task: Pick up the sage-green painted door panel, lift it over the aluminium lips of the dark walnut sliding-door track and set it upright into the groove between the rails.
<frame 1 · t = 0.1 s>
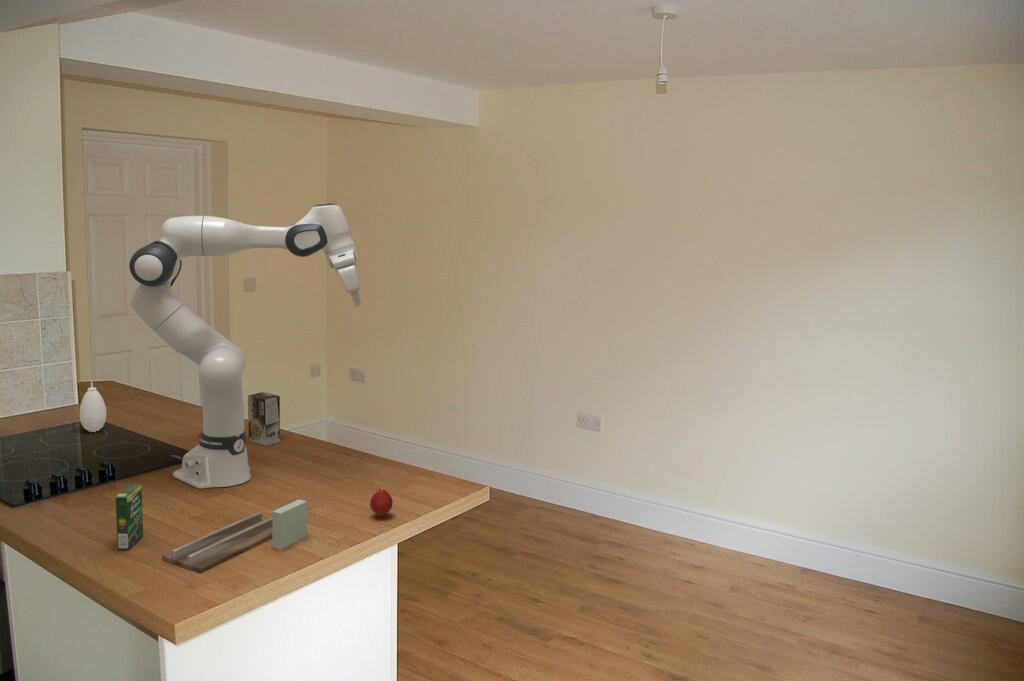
hand: (358, 303, 220), 52 cm above the counter, tool tilted 20°, fingers open, 8 cm apart
door panel: (290, 542, 181), on the counter
sauce bottle: (93, 432, 259), on the counter
coffee box: (264, 442, 256), on the counter
door track: (227, 544, 178), on the counter
onion: (381, 517, 198), on the counter
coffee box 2: (130, 544, 176), on the counter
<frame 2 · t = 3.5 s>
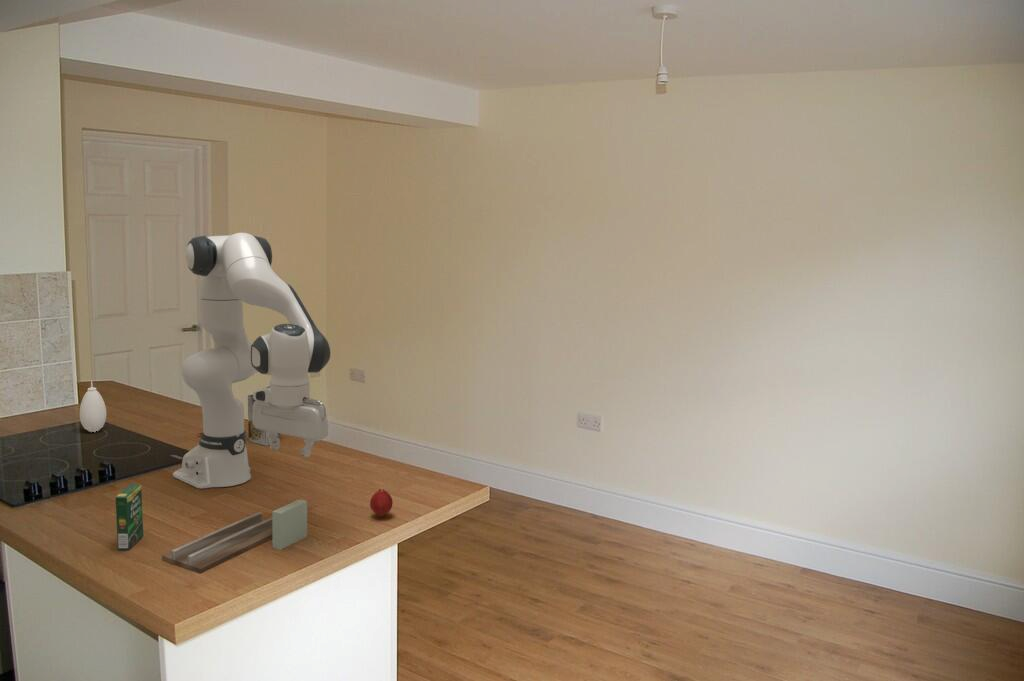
hand: (290, 452, 177), 22 cm above the counter, tool pointing down, fingers open, 8 cm apart
nothing on the counter moved.
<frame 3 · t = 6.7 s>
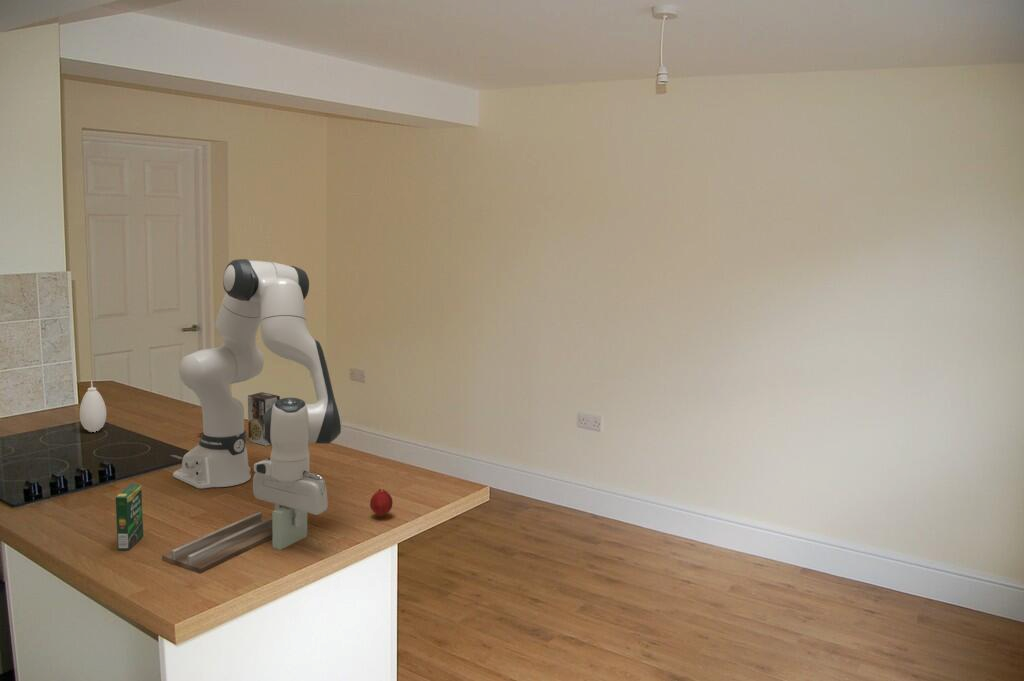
hand: (290, 523, 180), 5 cm above the counter, tool pointing down, fingers closed on door panel, 2 cm apart
door panel: (290, 541, 181), on the counter, touching gripper
everything else where it was.
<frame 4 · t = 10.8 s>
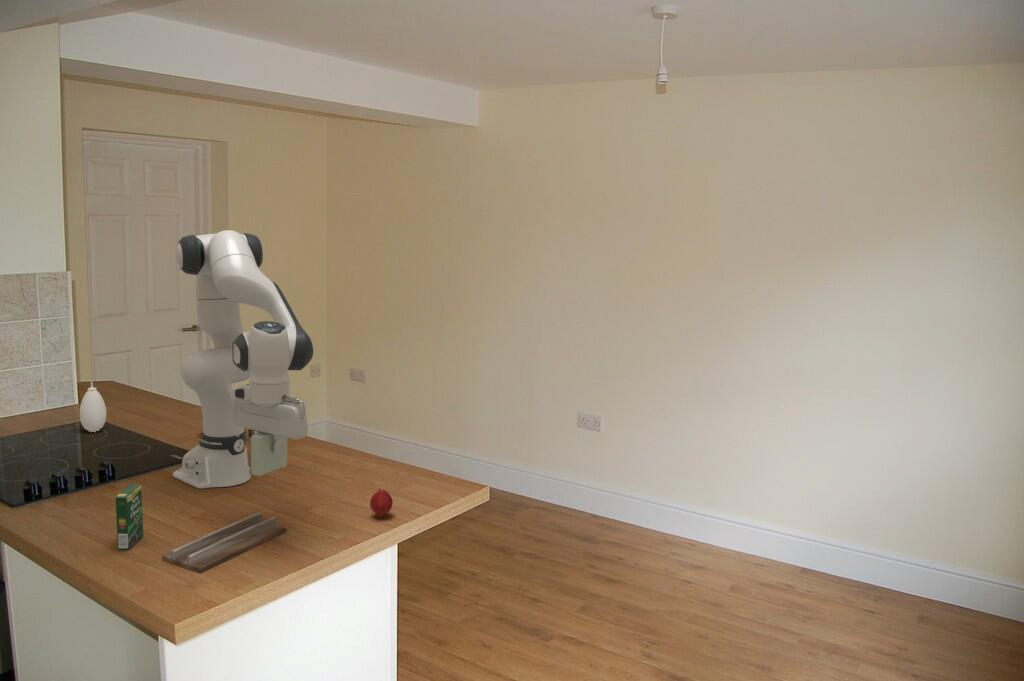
hand: (269, 450, 176), 23 cm above the counter, tool pointing down, fingers closed on door panel, 2 cm apart
door panel: (269, 469, 177), point 18 cm above the counter, touching gripper
everything else where it was.
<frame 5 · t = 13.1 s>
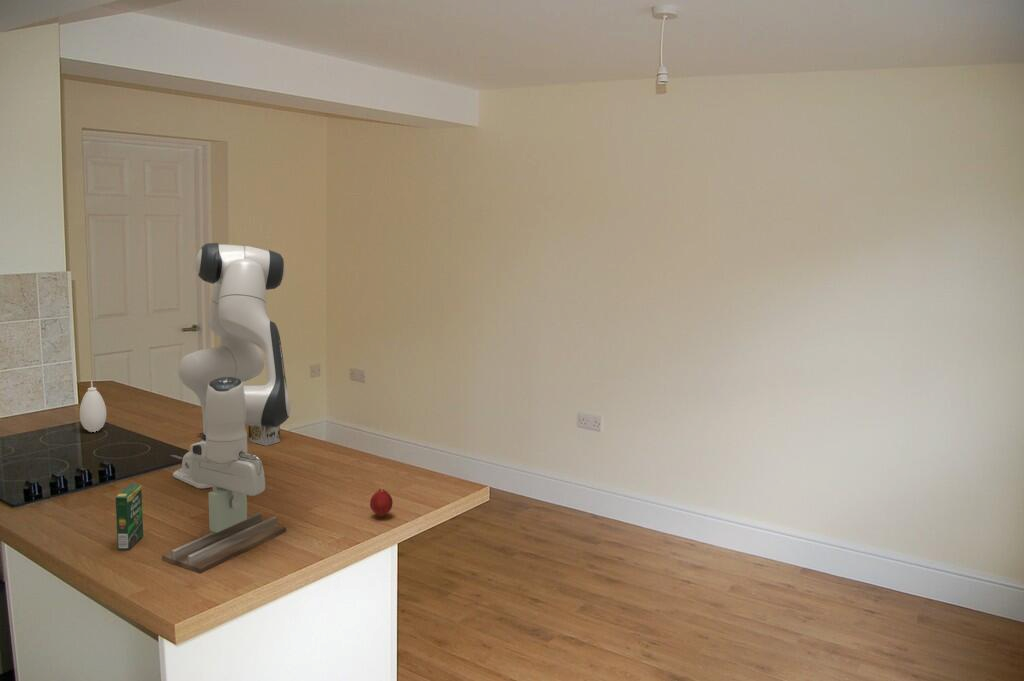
hand: (228, 505, 176), 10 cm above the counter, tool pointing down, fingers closed on door panel, 2 cm apart
door panel: (228, 524, 177), point 5 cm above the counter, touching gripper
everything else where it was.
when the fingers open (6 cm above the counter, at t = 15.2 s): door panel stays where it is, resting on door track.
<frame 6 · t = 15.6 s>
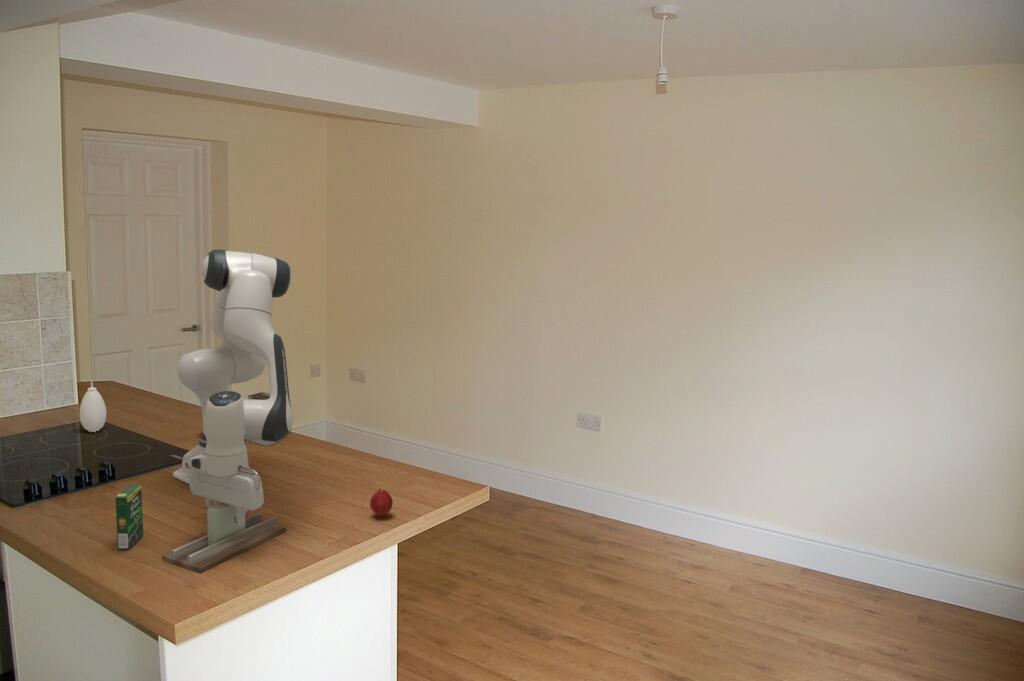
hand: (226, 519, 177), 6 cm above the counter, tool pointing down, fingers open, 6 cm apart
door panel: (227, 540, 177), point 1 cm above the counter, touching door track
everything else where it was.
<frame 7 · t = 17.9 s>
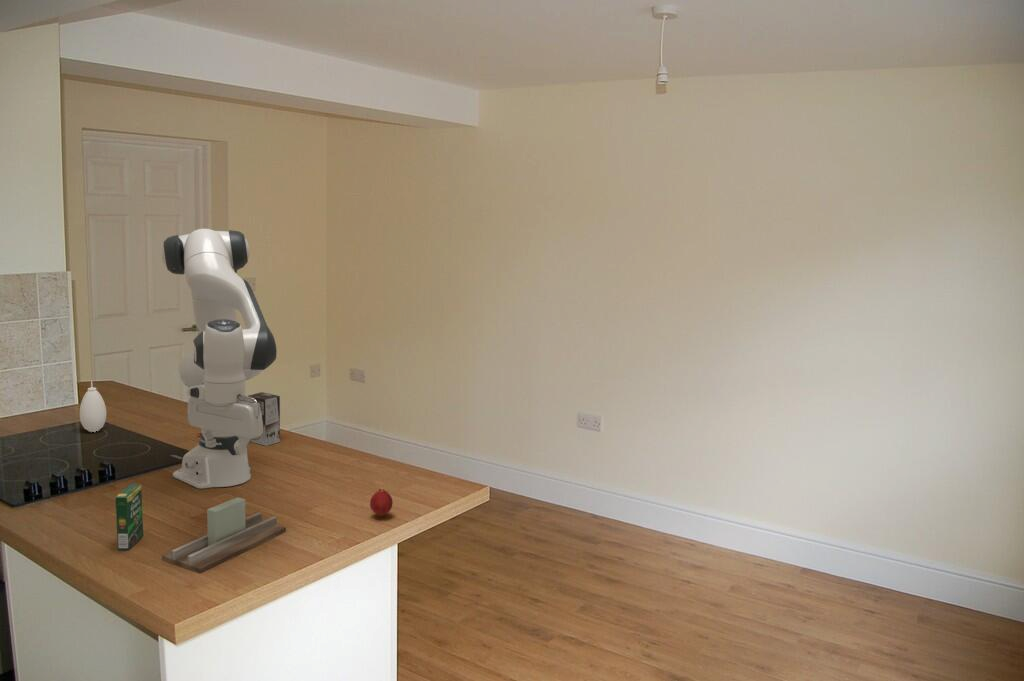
hand: (225, 450, 174), 23 cm above the counter, tool pointing down, fingers open, 8 cm apart
nothing on the counter moved.
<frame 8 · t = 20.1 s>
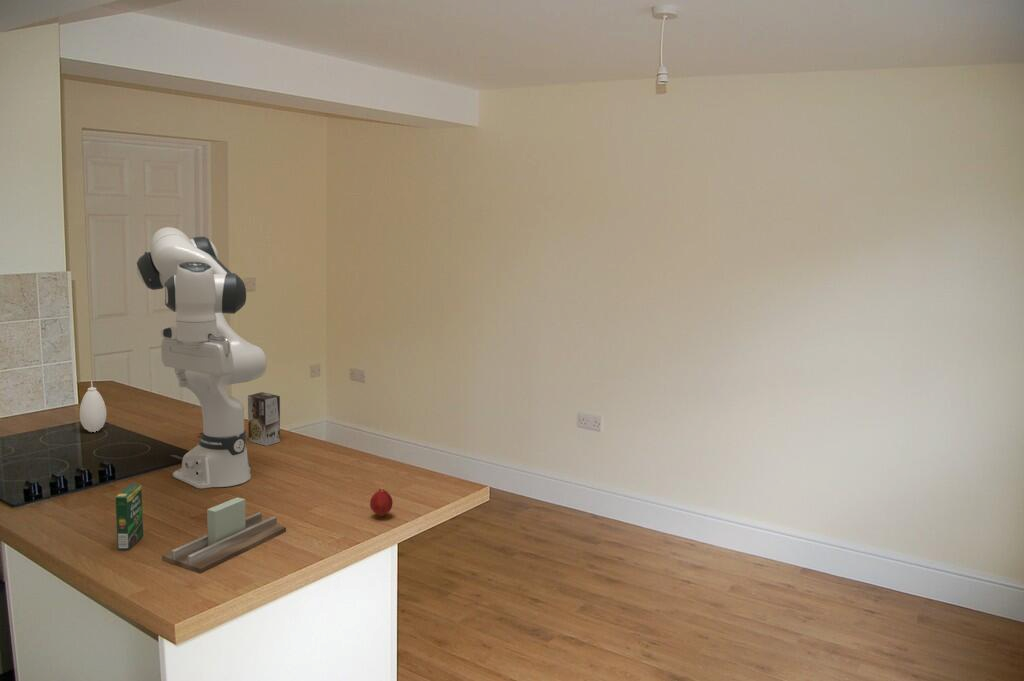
hand: (198, 389, 180), 35 cm above the counter, tool pointing down, fingers open, 8 cm apart
nothing on the counter moved.
at the end: door panel inside the target area on the door track (0.1 cm from its centre), point 1.0 cm above the door track's base; door panel tilted 0°; the gripper is holding nothing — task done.
